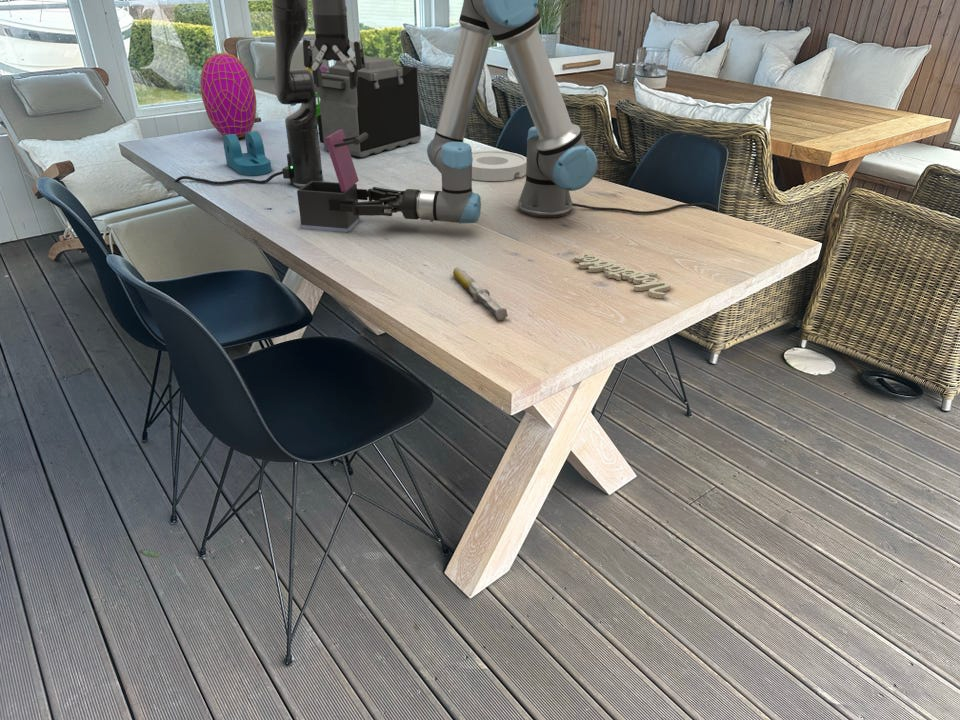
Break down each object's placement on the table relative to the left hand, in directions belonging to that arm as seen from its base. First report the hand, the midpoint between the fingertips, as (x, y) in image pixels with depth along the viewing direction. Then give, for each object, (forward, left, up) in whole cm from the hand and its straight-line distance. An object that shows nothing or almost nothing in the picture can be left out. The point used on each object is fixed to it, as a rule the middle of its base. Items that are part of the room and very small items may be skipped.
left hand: (336, 87), depth 165 cm
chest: (-5, 0, -35) cm, 35 cm away
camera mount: (-54, +43, -35) cm, 77 cm away
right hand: (-3, 0, -27) cm, 28 cm away
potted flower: (-64, +117, -35) cm, 138 cm away
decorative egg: (-83, +81, -35) cm, 121 cm away
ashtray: (+24, +62, -35) cm, 75 cm away
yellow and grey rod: (+44, -34, -35) cm, 65 cm away
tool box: (-28, +84, -35) cm, 95 cm away
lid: (-1, 0, -17) cm, 18 cm away
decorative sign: (+73, -14, -35) cm, 82 cm away
